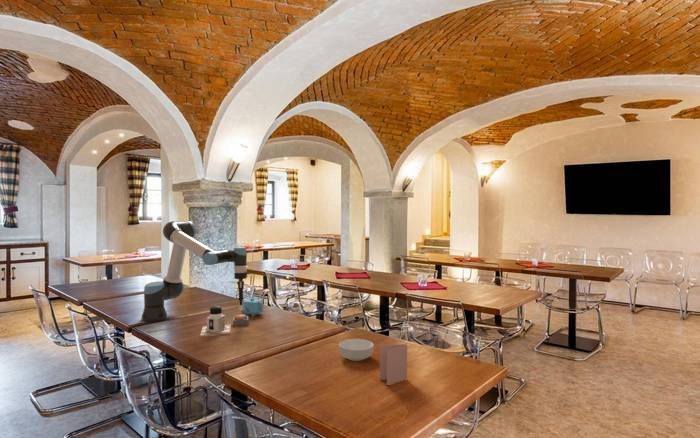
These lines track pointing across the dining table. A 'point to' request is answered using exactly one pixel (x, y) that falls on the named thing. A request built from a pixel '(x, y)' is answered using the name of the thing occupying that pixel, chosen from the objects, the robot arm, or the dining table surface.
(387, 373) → the greeting card
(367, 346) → the cereal bowl
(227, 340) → the dining table surface
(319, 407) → the dining table surface
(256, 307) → the teapot
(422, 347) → the dining table surface
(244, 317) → the button
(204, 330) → the drawing board
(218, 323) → the container
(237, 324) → the button box
